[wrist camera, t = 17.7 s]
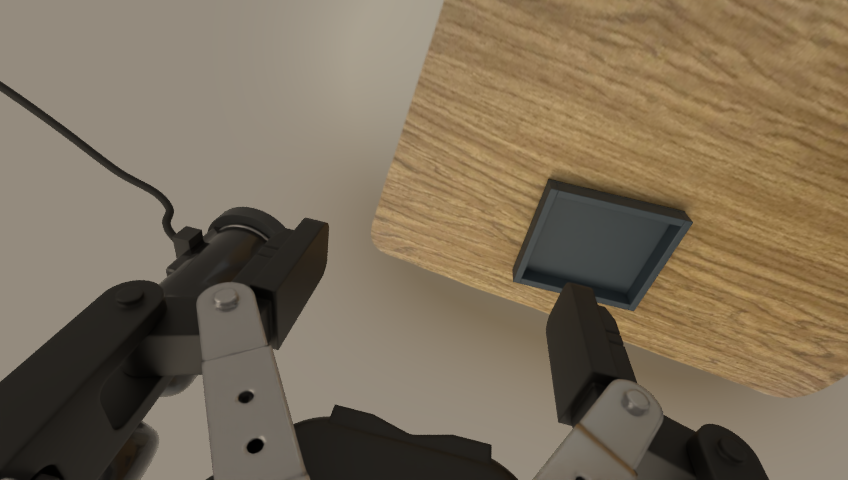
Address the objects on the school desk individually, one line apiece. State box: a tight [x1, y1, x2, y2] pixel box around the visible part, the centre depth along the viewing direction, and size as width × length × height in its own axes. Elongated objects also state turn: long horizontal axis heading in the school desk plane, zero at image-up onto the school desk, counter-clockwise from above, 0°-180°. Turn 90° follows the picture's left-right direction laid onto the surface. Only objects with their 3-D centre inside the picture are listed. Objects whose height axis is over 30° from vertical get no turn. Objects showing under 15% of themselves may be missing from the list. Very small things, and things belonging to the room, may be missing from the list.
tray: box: [513, 179, 693, 311], centre depth 45 cm, size 15×13×2 cm
